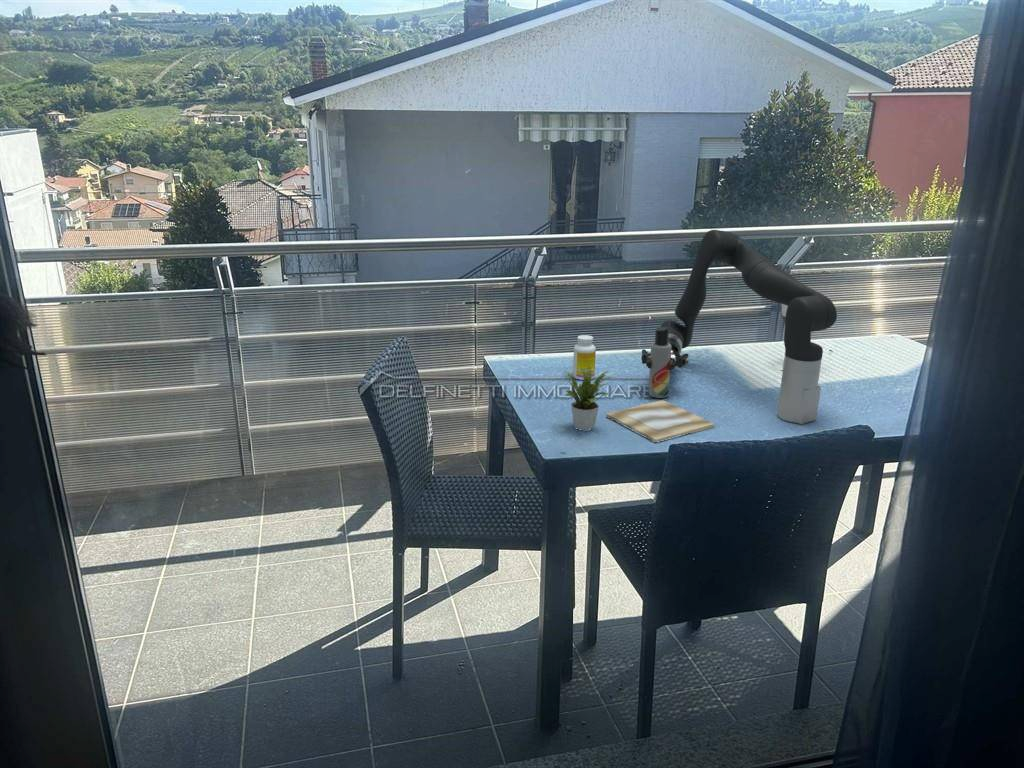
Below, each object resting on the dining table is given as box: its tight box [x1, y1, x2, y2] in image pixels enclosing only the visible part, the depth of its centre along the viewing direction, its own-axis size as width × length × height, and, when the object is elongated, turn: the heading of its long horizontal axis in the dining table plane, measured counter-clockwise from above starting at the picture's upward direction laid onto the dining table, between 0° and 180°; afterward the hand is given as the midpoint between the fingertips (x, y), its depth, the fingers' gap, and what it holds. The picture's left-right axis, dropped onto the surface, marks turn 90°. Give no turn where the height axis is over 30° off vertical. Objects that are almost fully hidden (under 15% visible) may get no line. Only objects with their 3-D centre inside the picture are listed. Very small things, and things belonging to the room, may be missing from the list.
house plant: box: [564, 366, 617, 430], centre depth 201 cm, size 14×14×16 cm
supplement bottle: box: [572, 334, 597, 381], centre depth 240 cm, size 7×7×13 cm
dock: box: [605, 399, 715, 442], centre depth 208 cm, size 20×20×1 cm
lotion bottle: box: [648, 326, 671, 399], centre depth 223 cm, size 6×6×20 cm
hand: (659, 366), depth 221 cm, fingers closed on lotion bottle, 5 cm apart
